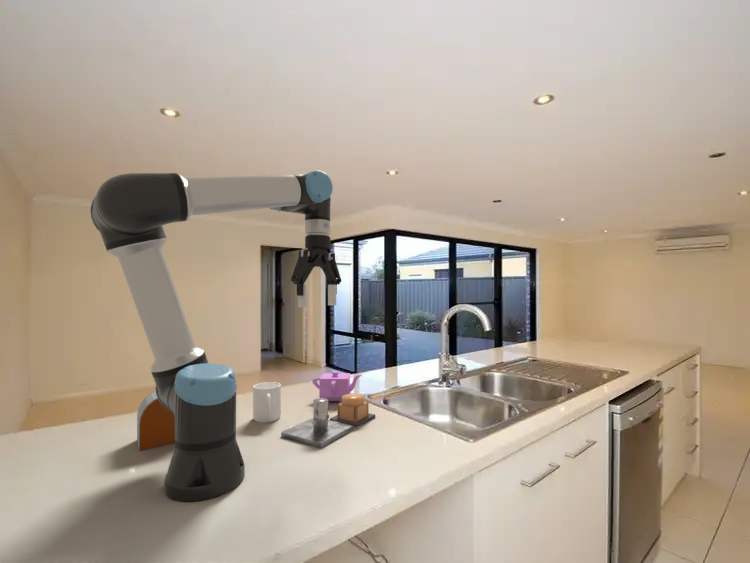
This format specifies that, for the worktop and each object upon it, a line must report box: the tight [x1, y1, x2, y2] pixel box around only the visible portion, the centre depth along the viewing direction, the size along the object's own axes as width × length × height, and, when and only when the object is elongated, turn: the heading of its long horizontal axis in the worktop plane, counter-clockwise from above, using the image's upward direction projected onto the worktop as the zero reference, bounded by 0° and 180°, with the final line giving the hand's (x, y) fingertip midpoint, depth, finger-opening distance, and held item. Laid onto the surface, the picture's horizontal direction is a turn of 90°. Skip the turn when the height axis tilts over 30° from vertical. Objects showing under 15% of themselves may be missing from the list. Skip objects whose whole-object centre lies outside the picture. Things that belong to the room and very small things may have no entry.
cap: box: [337, 393, 369, 422], centre depth 114 cm, size 7×7×6 cm
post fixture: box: [280, 398, 354, 449], centre depth 103 cm, size 14×14×9 cm
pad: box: [329, 412, 376, 428], centre depth 114 cm, size 10×10×1 cm
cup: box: [252, 381, 282, 424], centre depth 114 cm, size 8×12×10 cm
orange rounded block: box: [136, 390, 175, 451], centre depth 101 cm, size 15×8×14 cm, turn 126°
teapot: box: [312, 370, 363, 404], centre depth 134 cm, size 18×14×10 cm
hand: (317, 306), depth 112 cm, fingers open, 13 cm apart
